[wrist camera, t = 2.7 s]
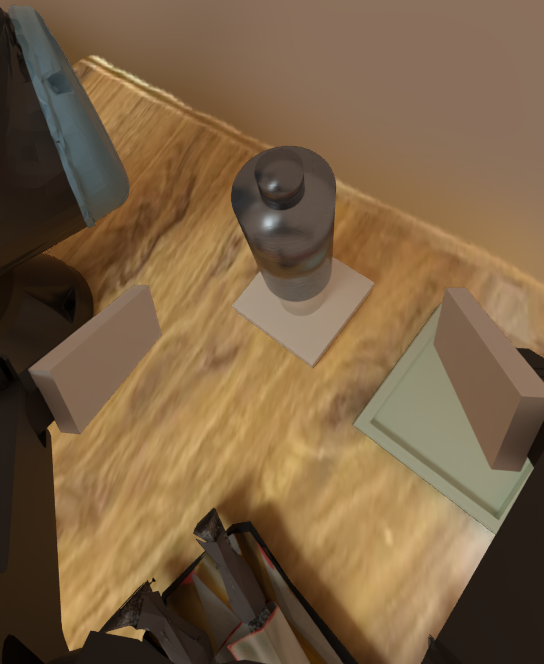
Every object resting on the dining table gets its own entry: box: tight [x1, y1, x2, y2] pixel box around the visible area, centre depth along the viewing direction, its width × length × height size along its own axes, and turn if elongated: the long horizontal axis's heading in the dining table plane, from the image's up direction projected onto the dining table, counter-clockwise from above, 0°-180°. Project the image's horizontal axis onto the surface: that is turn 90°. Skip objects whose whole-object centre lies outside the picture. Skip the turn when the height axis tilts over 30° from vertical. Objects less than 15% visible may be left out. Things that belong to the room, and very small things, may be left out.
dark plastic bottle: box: [231, 146, 336, 302], centre depth 22 cm, size 6×6×12 cm
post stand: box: [232, 256, 375, 368], centre depth 31 cm, size 10×10×8 cm
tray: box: [352, 303, 534, 535], centre depth 30 cm, size 14×14×2 cm
